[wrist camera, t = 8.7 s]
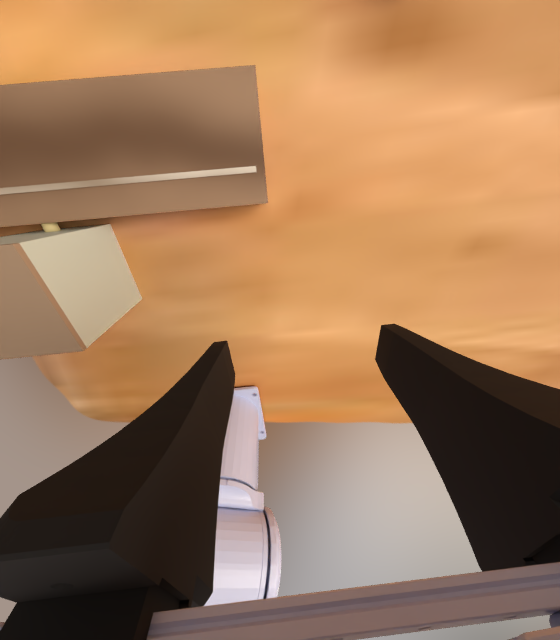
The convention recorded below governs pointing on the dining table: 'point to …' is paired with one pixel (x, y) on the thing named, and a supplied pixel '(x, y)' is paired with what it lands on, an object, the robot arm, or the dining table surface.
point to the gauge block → (61, 289)
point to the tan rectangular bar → (130, 145)
